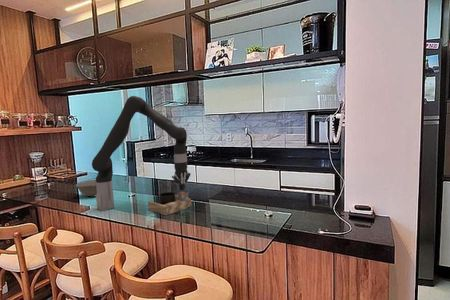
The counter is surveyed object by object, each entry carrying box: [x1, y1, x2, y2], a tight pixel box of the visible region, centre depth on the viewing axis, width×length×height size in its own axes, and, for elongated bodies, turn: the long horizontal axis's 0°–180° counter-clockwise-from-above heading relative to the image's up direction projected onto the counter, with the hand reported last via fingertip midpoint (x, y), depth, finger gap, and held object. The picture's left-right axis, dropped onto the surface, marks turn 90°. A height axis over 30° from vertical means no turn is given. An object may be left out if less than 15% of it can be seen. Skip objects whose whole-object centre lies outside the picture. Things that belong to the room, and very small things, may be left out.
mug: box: [158, 191, 176, 205], centre depth 175 cm, size 9×12×9 cm
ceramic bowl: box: [75, 179, 97, 197], centre depth 216 cm, size 22×23×10 cm
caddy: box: [147, 192, 192, 216], centre depth 175 cm, size 19×17×9 cm
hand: (182, 189), depth 173 cm, fingers closed
